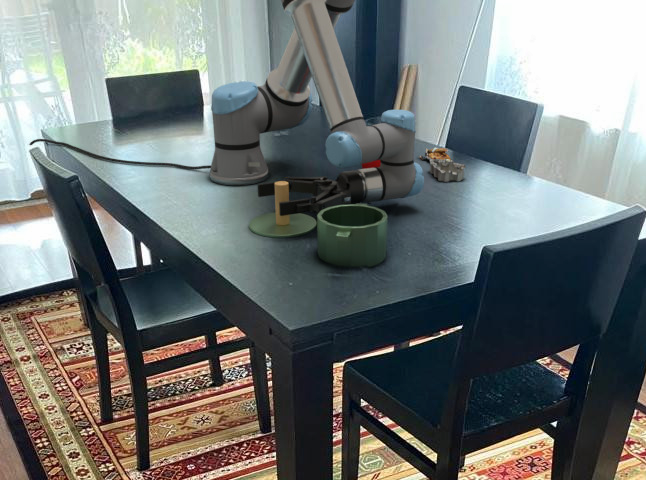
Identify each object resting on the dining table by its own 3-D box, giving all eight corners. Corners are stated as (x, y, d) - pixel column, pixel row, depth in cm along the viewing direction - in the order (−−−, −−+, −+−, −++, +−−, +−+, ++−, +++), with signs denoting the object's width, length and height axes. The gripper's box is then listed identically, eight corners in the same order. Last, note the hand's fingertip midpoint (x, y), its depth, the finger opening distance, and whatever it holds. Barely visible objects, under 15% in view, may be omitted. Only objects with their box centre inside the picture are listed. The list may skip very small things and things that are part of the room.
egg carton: (465, 181, 197) (467, 166, 195) (437, 182, 196) (438, 167, 194) (454, 169, 206) (455, 154, 204) (427, 170, 206) (428, 155, 204)
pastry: (440, 169, 207) (441, 156, 205) (417, 158, 216) (418, 145, 215) (462, 166, 209) (463, 153, 208) (439, 155, 219) (440, 143, 217)
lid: (240, 237, 163) (237, 191, 158) (261, 214, 176) (259, 171, 171) (306, 243, 160) (306, 196, 155) (323, 219, 172) (323, 175, 168)
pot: (307, 271, 147) (306, 229, 143) (329, 236, 163) (329, 198, 159) (376, 277, 144) (377, 235, 140) (392, 241, 160) (394, 202, 156)
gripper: (383, 220, 162) (290, 235, 155) (335, 187, 183) (251, 199, 175) (384, 186, 159) (289, 199, 151) (335, 156, 179) (249, 167, 171)
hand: (268, 199), depth 163 cm, fingers open, 13 cm apart
